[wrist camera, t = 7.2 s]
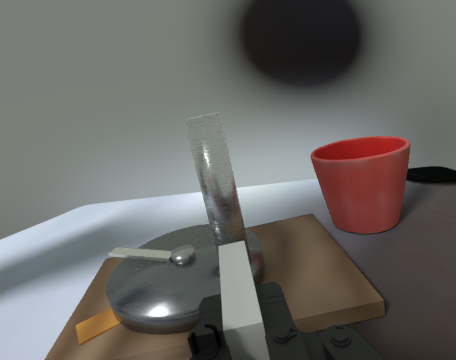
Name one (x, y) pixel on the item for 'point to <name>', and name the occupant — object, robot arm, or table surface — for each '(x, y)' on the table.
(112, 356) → the walnut base board
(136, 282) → the wheel
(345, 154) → the flower pot
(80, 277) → the table surface
